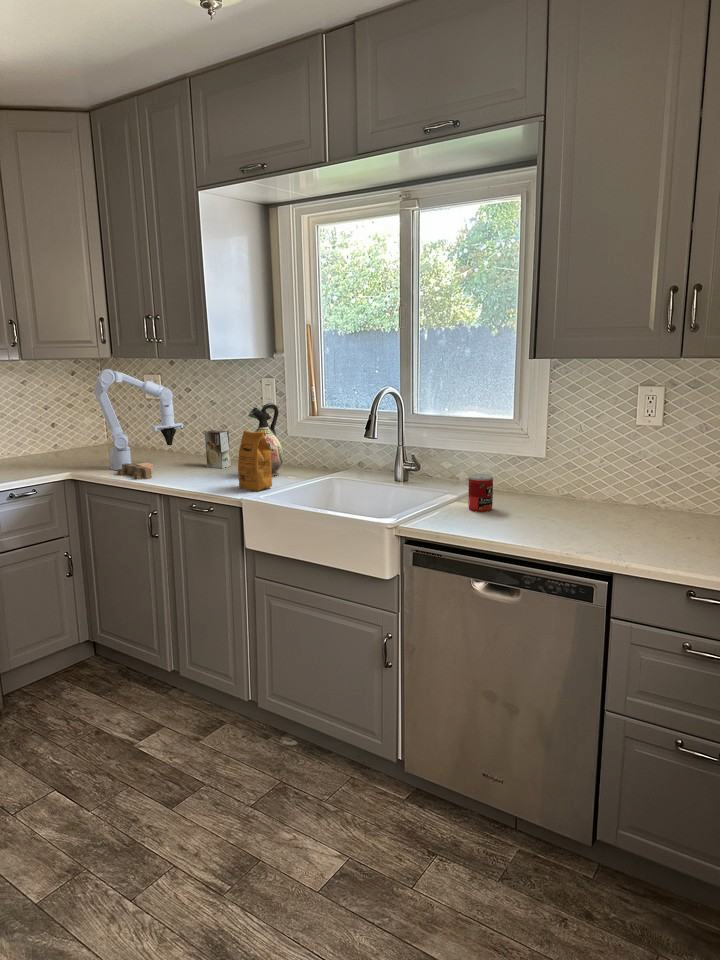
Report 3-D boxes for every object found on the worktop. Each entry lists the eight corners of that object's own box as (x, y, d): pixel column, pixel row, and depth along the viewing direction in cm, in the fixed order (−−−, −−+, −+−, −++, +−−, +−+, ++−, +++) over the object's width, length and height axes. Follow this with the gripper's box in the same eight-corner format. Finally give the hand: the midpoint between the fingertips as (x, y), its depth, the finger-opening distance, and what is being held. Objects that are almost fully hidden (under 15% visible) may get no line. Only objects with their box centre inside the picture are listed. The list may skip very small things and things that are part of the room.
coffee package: (254, 484, 269) (252, 428, 265) (276, 488, 261) (273, 430, 257) (234, 488, 262) (231, 431, 257) (256, 492, 254) (253, 433, 249)
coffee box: (231, 466, 308) (229, 430, 305) (222, 468, 302) (220, 432, 299) (215, 464, 312) (213, 429, 309) (206, 467, 307) (203, 431, 303)
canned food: (480, 513, 218) (481, 479, 216) (463, 508, 224) (463, 475, 222) (497, 509, 222) (498, 476, 220) (479, 505, 229) (480, 472, 226)
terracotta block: (136, 474, 294) (135, 464, 293) (147, 472, 297) (146, 462, 296) (142, 476, 290) (141, 465, 289) (153, 474, 293) (152, 464, 292)
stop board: (115, 474, 294) (115, 465, 293) (127, 472, 298) (126, 463, 297) (139, 480, 281) (139, 470, 280) (151, 478, 285) (150, 468, 284)
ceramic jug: (251, 480, 276) (247, 405, 269) (243, 473, 290) (239, 402, 284) (292, 476, 282) (289, 403, 276) (282, 470, 296) (279, 400, 290)
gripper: (157, 417, 300) (159, 447, 302) (186, 414, 310) (188, 443, 313) (149, 416, 304) (151, 446, 307) (177, 413, 315) (179, 442, 317)
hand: (169, 445), depth 310 cm, fingers closed
